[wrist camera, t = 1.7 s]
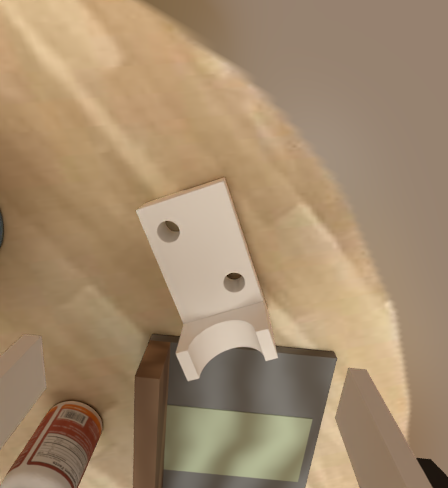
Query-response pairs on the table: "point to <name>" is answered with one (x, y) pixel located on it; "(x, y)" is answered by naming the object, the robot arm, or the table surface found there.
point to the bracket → (208, 274)
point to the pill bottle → (57, 449)
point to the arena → (228, 418)
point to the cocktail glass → (1, 229)
